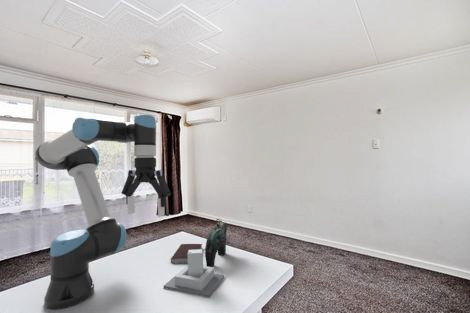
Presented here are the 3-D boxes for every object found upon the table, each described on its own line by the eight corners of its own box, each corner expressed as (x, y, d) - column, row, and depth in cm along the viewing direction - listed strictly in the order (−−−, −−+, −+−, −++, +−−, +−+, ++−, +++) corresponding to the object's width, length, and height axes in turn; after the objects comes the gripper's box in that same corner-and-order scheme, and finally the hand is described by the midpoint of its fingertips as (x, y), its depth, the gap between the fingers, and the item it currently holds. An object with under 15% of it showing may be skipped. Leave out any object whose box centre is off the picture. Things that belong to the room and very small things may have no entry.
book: (170, 264, 114) (170, 257, 114) (180, 248, 133) (180, 243, 133) (195, 264, 113) (195, 257, 113) (202, 249, 133) (202, 243, 133)
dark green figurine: (219, 251, 128) (218, 214, 128) (230, 252, 126) (229, 215, 126) (202, 267, 109) (202, 224, 109) (215, 269, 107) (214, 226, 107)
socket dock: (163, 288, 92) (163, 276, 92) (183, 270, 106) (183, 260, 106) (209, 297, 85) (209, 285, 85) (224, 277, 99) (224, 267, 99)
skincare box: (203, 277, 98) (203, 248, 98) (203, 282, 94) (202, 252, 94) (188, 277, 98) (188, 249, 98) (187, 283, 93) (187, 253, 93)
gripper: (180, 156, 85) (180, 214, 85) (126, 157, 93) (126, 210, 93) (168, 156, 78) (168, 219, 78) (110, 157, 86) (111, 214, 86)
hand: (145, 214), depth 85 cm, fingers open, 13 cm apart
